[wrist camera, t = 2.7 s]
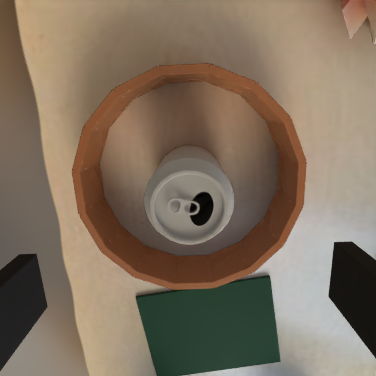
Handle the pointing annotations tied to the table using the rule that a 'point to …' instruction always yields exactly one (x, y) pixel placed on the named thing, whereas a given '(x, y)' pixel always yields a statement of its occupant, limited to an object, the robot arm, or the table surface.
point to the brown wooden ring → (196, 264)
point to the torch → (359, 15)
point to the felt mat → (211, 327)
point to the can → (189, 196)
